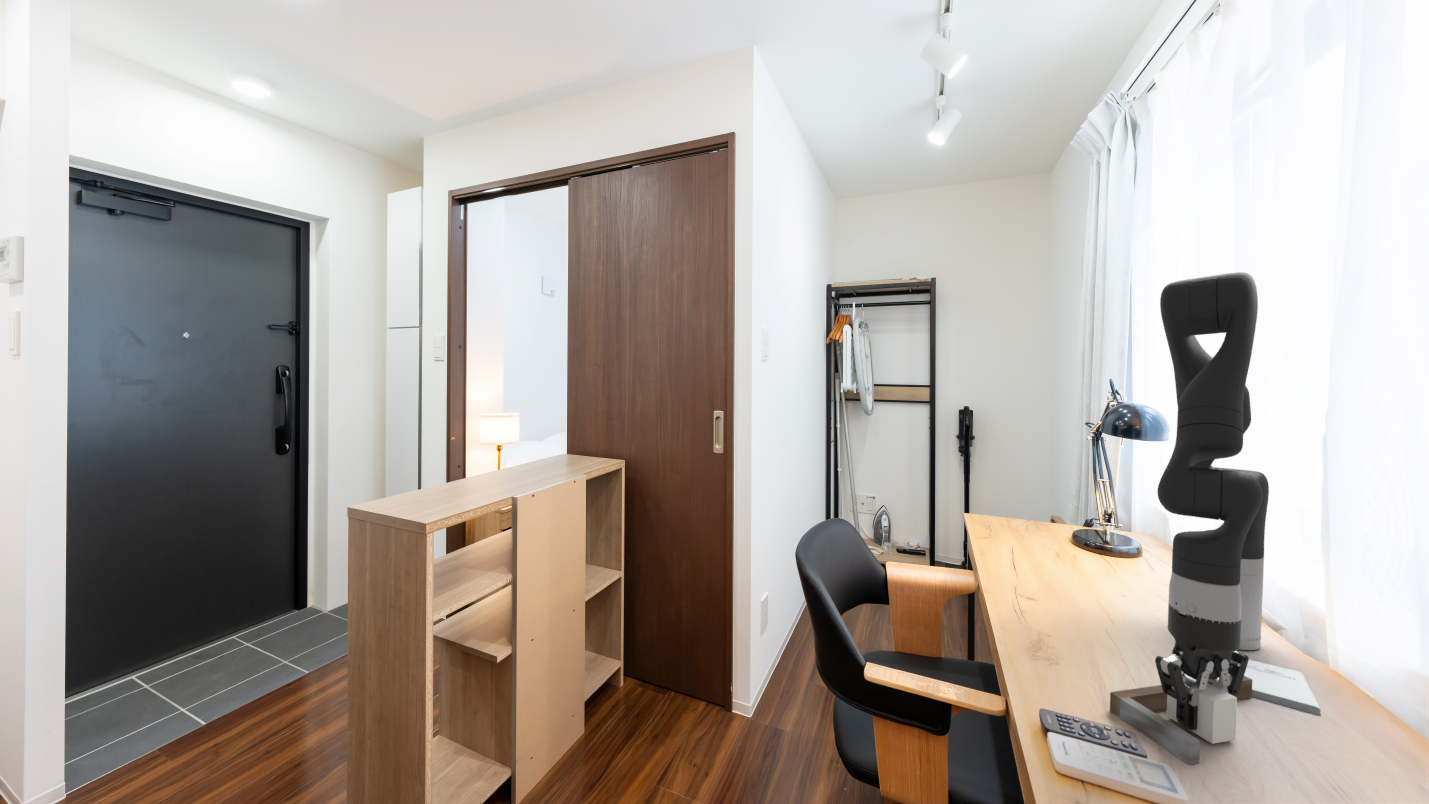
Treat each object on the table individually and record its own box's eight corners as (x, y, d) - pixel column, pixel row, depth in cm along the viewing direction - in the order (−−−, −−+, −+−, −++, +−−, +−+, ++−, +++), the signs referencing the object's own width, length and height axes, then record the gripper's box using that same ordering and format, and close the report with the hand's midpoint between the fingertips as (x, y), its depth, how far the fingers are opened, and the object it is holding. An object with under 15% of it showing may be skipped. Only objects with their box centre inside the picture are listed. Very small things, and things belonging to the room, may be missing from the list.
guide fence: (1109, 711, 78) (1110, 692, 78) (1239, 691, 83) (1240, 673, 83) (1189, 764, 67) (1190, 742, 67) (1333, 738, 72) (1334, 718, 72)
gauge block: (1166, 715, 76) (1167, 676, 76) (1188, 712, 77) (1189, 673, 77) (1212, 743, 71) (1214, 701, 70) (1235, 739, 71) (1237, 697, 71)
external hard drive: (1242, 696, 83) (1233, 663, 92) (1320, 718, 77) (1302, 680, 87) (1243, 686, 82) (1234, 654, 92) (1321, 707, 77) (1302, 671, 87)
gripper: (1213, 592, 78) (1209, 702, 79) (1136, 600, 76) (1132, 714, 76) (1275, 614, 71) (1270, 735, 72) (1192, 624, 68) (1188, 749, 69)
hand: (1199, 723), depth 74 cm, fingers closed on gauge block, 4 cm apart
